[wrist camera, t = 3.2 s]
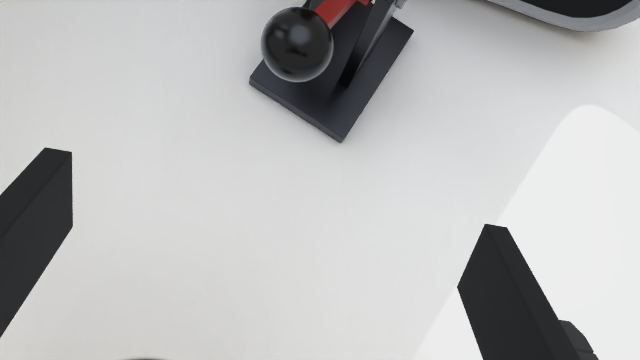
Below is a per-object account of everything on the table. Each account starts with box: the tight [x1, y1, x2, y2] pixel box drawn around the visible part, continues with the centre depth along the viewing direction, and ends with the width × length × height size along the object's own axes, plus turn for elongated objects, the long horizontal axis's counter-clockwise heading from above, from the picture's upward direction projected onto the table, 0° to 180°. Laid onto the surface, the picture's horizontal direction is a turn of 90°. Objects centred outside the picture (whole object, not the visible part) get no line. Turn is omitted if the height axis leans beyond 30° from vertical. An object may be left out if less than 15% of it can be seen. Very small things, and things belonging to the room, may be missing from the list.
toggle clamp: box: [249, 0, 414, 143], centre depth 39 cm, size 12×9×14 cm
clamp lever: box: [261, 0, 372, 82], centre depth 30 cm, size 14×4×4 cm, turn 148°
